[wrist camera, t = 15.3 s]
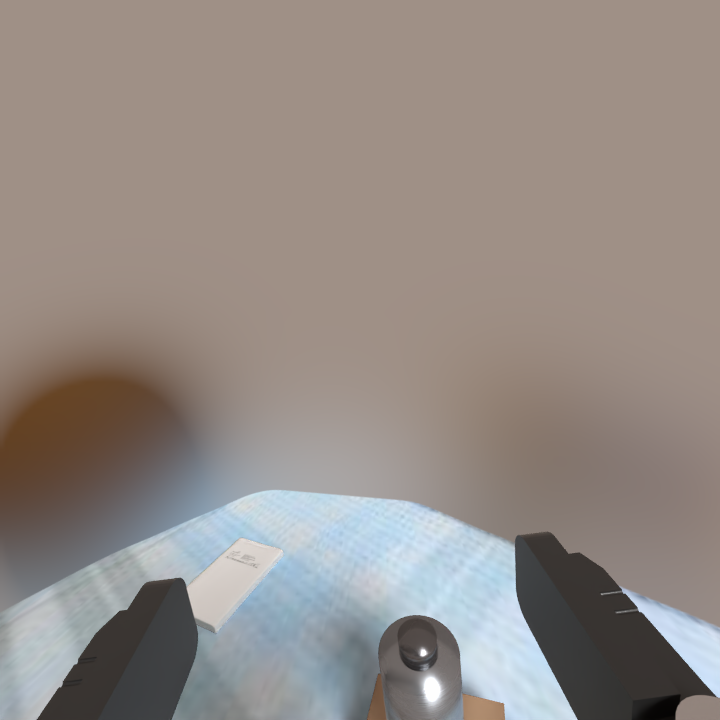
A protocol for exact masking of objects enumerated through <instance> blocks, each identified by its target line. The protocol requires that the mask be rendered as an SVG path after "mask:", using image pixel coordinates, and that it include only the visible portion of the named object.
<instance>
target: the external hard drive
mask: <svg viewBox="0 0 720 720" xmlns="http://www.w3.org/2000/svg"><path fill="white" fill-rule="evenodd" d="M283 556H284V554H283V550H281V549H278V548H275V547H271V546H268V545H264V544H261V543H258V542H254V541H251V540H247V539H244V538H239V539H238V540H237V541H236V542H235V543H234V544H233V545H232V546H230V547H229V548H228V549H227V550H226V551H225V552H224V553H223V554H222V555H221V556H220V557H218V558H217V559H216V560H215V561H214V562H213V563H212V564H211V565H210V566H209V567H208V568H206V569H205V570H204V571H203V572H202V573H201V574H200V575H199V576H198V577H197V578H196V579H194V580H193V581H192V582H191V583H190V584H189V585H188V586H187V587H186V588H187V592H188V595H189V599H190V603H191V607H192V611H193V614H194V618H195V622H196V625H198V626H200V627H203V628H205V629H207V630H209V631H211V632H213V633H215V634H216V633H217V632H218V631H219V630H220V629H221V627H222V626H223V625H224V624H225V623H226V622H227V620H228V619H229V618H230V617H231V616H232V615H233V613H234V612H235V611H236V610H237V609H238V608H239V607H240V605H241V604H242V603H243V602H244V601H245V600H246V599H247V597H248V596H249V595H250V594H251V593H252V592H253V590H254V589H255V588H256V587H257V586H258V585H259V583H260V582H261V581H262V580H263V579H264V578H265V577H266V575H267V574H268V573H269V572H270V571H271V570H272V568H273V567H274V566H275V565H276V564H277V563H278V562H279V560H280V559H281V558H282V557H283Z"/></svg>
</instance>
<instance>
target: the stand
mask: <svg viewBox="0 0 720 720" xmlns="http://www.w3.org/2000/svg"><path fill="white" fill-rule="evenodd" d="M462 696H463V711H464V720H505V713H504V703H500V702H495V701H491V700H487V699H483V698H479V697H474V696H470V695H466V694H462ZM367 720H387V719H386V711H385V703H384V695H383V687H382V680H381V674H378V677H377V681H376V685H375V689H374V693H373V697H372V701H371V705H370V709H369V713H368V717H367Z"/></svg>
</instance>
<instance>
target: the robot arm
mask: <svg viewBox="0 0 720 720" xmlns="http://www.w3.org/2000/svg"><path fill="white" fill-rule="evenodd" d="M515 562H516V592H517V597H518V601H519V605H520V608H521V611H522V613H523V616H524V618H525V620H526V622H527V624H528V626H529V628H530V630H531V632H532V633H533V635H534V637H535V639H536V641H537V643H538V645H539V647H540V649H541V651H542V653H543V654H544V656H545V658H546V660H547V662H548V664H549V666H550V668H551V670H552V672H553V674H554V675H555V677H556V679H557V681H558V683H559V685H560V687H561V689H562V691H563V693H564V694H565V696H566V698H567V700H568V702H569V704H570V706H571V708H572V710H573V712H574V714H575V715H576V717H577V719H578V720H720V698H718V697H716V696H715V695H714V693H713V692H712V691H711V690H710V689H709V688H708V687H707V686H706V685H705V684H704V683H703V681H702V680H701V679H700V678H699V677H698V676H697V675H696V674H695V672H694V671H693V670H692V669H691V668H690V667H689V666H688V664H687V663H686V662H685V661H684V660H683V659H682V658H681V656H680V655H679V654H678V653H677V652H676V651H675V650H674V648H673V647H672V646H671V645H670V644H669V643H668V642H667V641H666V639H665V638H664V637H663V636H662V635H661V634H660V633H659V631H658V630H657V629H656V628H655V627H654V626H653V625H652V623H651V622H650V621H649V620H648V619H647V618H646V617H645V615H644V614H643V613H642V612H639V611H638V608H637V606H636V605H635V604H634V603H633V602H632V601H631V600H630V598H629V597H628V596H627V595H626V594H623V592H622V589H621V588H620V587H619V586H618V585H617V584H616V583H615V581H614V580H613V579H612V578H611V577H610V576H609V575H608V573H607V572H606V571H605V570H604V569H603V568H602V567H600V566H599V565H597V564H596V563H594V562H593V561H591V560H590V559H588V558H587V557H585V556H584V555H582V554H580V553H572V554H568V553H567V551H566V550H565V549H564V548H563V547H562V545H561V544H560V543H559V541H558V540H557V539H556V538H555V536H554V535H553V534H552V533H550V532H541V533H534V534H526V535H518V536H517V537H516V540H515ZM197 643H198V632H197V626H196V622H195V618H194V614H193V611H192V607H191V603H190V599H189V595H188V592H187V588H186V584H185V582H184V580H183V579H182V578H174V579H167V580H159V581H151V582H147V583H145V584H144V585H143V586H142V588H141V589H140V591H139V592H138V594H137V595H136V597H135V598H134V600H133V602H132V603H131V605H130V606H129V608H128V609H127V610H122V611H119V612H118V613H117V614H116V615H115V616H114V617H113V618H112V619H111V620H110V621H108V622H107V623H106V624H105V625H104V626H103V627H102V628H101V629H100V630H99V631H98V632H97V633H96V634H95V635H94V637H93V638H92V640H91V641H90V643H89V644H88V646H87V647H86V649H85V650H84V652H83V653H82V654H81V656H80V657H79V659H78V663H77V664H75V665H74V666H73V668H72V669H71V670H70V672H69V673H68V675H67V676H66V678H65V679H64V681H63V685H62V687H60V688H58V689H57V691H56V692H55V694H54V695H53V697H52V698H51V700H50V701H49V703H48V704H47V706H46V707H45V708H44V710H43V711H42V713H41V714H40V716H39V717H38V719H37V720H171V719H172V717H173V714H174V712H175V709H176V706H177V704H178V701H179V699H180V696H181V693H182V691H183V688H184V686H185V683H186V680H187V678H188V675H189V673H190V670H191V667H192V665H193V662H194V659H195V655H196V651H197Z"/></svg>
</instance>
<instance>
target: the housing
mask: <svg viewBox="0 0 720 720" xmlns="http://www.w3.org/2000/svg"><path fill="white" fill-rule="evenodd" d="M378 654H379V664H380V672H381V680H382V687H383V695H384V703H385V711H386V719H387V720H464V711H463V696H462V680H461V665H460V652H459V647H458V644H457V642H456V639H455V638H454V636H453V634H452V633H451V632H450V630H449V629H448V628H447V627H446V626H444V625H443V624H442V623H440V622H439V621H437V620H435V619H433V618H430V617H426V616H421V615H413V616H407V617H404V618H401V619H399V620H397V621H395V622H394V623H393V624H391V625H390V626H389V627H388V628H387V630H386V631H385V632H384V634H383V636H382V638H381V641H380V644H379V652H378Z"/></svg>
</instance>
